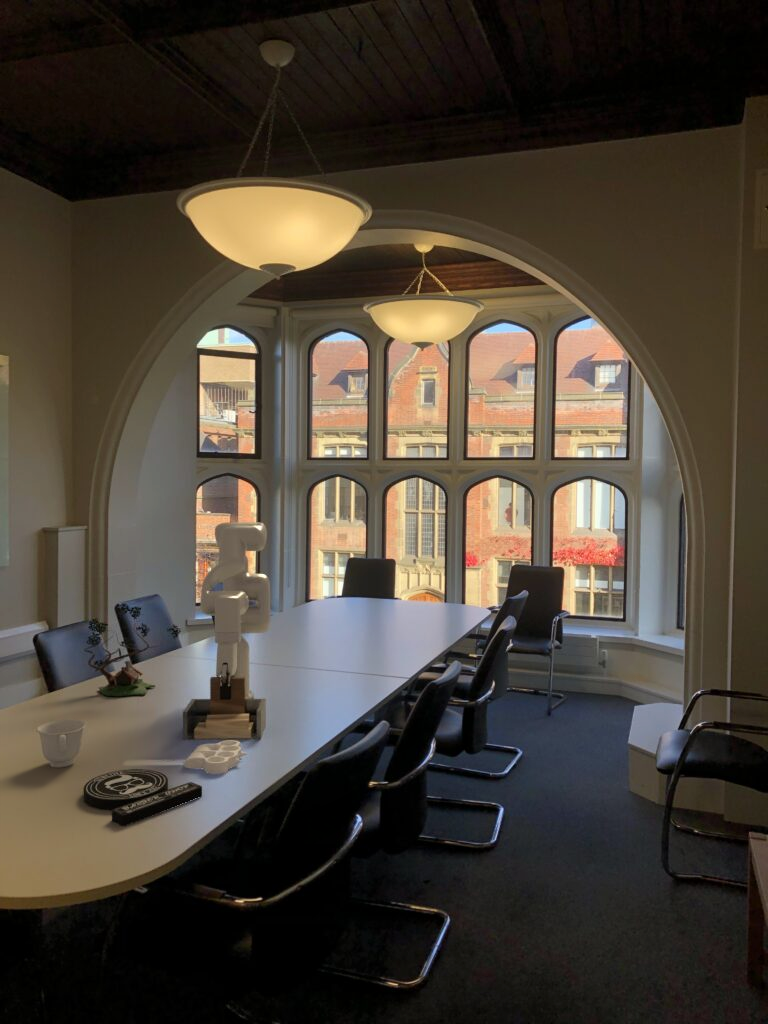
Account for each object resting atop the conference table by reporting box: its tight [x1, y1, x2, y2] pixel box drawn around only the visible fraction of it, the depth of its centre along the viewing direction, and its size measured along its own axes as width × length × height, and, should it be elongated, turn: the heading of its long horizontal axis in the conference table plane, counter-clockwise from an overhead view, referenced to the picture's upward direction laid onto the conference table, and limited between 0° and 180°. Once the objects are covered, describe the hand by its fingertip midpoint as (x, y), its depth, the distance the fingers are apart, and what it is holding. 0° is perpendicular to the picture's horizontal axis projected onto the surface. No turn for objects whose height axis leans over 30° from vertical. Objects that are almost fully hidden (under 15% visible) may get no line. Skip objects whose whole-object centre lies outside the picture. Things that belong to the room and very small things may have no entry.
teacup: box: [36, 719, 87, 768], centre depth 212 cm, size 12×15×10 cm
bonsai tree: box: [83, 602, 182, 698], centre depth 280 cm, size 35×24×32 cm
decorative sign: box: [83, 768, 203, 827], centre depth 192 cm, size 22×3×25 cm
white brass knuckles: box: [183, 739, 247, 775], centre depth 215 cm, size 3×18×15 cm
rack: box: [182, 698, 267, 741], centre depth 236 cm, size 13×22×9 cm, turn 92°
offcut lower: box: [194, 722, 254, 738], centre depth 234 cm, size 7×16×2 cm, turn 92°
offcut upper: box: [206, 714, 249, 730], centre depth 234 cm, size 6×12×2 cm, turn 98°
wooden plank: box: [209, 676, 245, 715], centre depth 240 cm, size 2×10×15 cm, turn 92°
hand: (227, 695), depth 240 cm, fingers open, 7 cm apart
